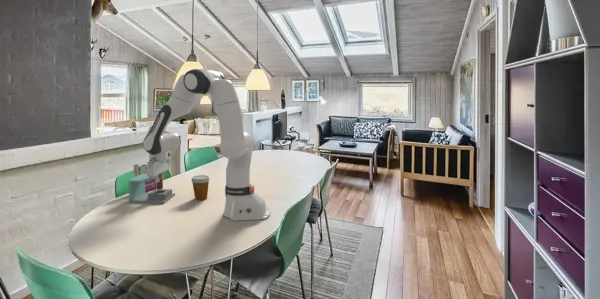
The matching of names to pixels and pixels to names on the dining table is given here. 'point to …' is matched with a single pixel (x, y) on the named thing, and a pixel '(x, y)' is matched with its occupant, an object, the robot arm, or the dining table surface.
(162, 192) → the socket station
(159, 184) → the walnut dowel
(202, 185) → the disposable coffee cup
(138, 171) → the candy bar box
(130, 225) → the dining table surface
